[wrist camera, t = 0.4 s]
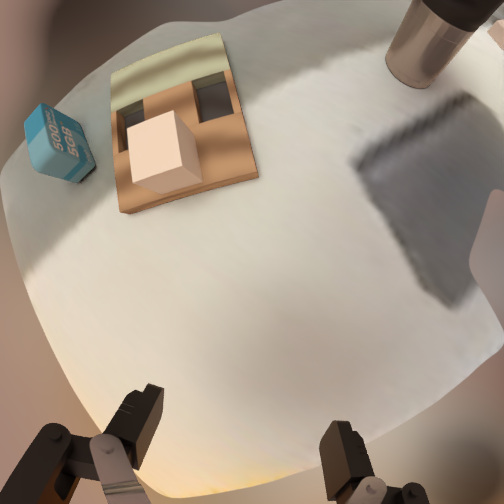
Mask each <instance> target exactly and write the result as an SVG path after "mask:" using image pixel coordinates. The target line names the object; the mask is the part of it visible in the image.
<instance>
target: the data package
mask: <svg viewBox="0 0 504 504" xmlns="http://www.w3.org/2000/svg"><path fill="white" fill-rule="evenodd" d="M24 129H25V135H26V140H27V146H28V151H29V156H30V160H31V164H32V166H33V168H34V169H35V170H36V171H37V172H39V173H42V174H46V175H49V176H53V177H56V178H60V179H64V180H67V181H71V182H74V183H78V182H79V181H80V180H81V179H82V178H83V177H84V176H85V175H86V174H87V173H88V172H89V171H91V170H92V169H93V168H94V167H95V162H94V159H93V157H92V154H91V152H90V149H89V147H88V144H87V141H86V139H85V136H84V134H83V131H82V128H81V126H80V125H79V123H78V122H77V121H75V120H73V119H72V118H70V117H68V116H66V115H64V114H63V113H61V112H59V111H57V110H55V109H54V108H52V107H50V106H48V105H46V104H44V103H41V104H40V105H39V106H38V107H37V108H36V109H35V110H34V112H33V113H32V114H31V115H30V116H29V117H28V118H27V120H26V121H25V122H24Z"/></svg>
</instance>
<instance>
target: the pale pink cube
mask: <svg viewBox="0 0 504 504" xmlns="http://www.w3.org/2000/svg"><path fill="white" fill-rule="evenodd" d="M487 33H488V34H489V35H490V36H491V37H492V38H493V39H494V41H495V42H496V43H497V44H498V45H499V47H500V48H501V49H502V50H504V20H498V21H496V22H495V23H494V24H493V25H492V27H491V28H490V29H489V30H488V31H487Z"/></svg>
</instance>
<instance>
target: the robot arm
mask: <svg viewBox="0 0 504 504" xmlns="http://www.w3.org/2000/svg"><path fill="white" fill-rule="evenodd" d="M503 2H504V0H412V2H411V5H410V7H409V9H408V11H407V13H406V15H405V17H404V19H403V21H402V23H401V25H400V27H399V29H398V31H397V34H396V36H395V38H394V40H393V41H392V43H391V45H390V47H389V49H388V51H387V54H386V64H387V66H388V68H389V69H390V71H391V72H392V73H393V75H394V76H395V77H397V78H398V79H399V80H400V81H402V82H403V83H405V84H407V85H409V86H411V87H414V88H426V87H428V86H429V85H430V84H431V83H432V82H433V81H434V80H435V78H436V77H437V76H438V75H439V74H440V73H441V72H442V70H443V69H444V68H445V67H446V66H447V65H448V63H449V62H450V61H451V60H452V59H453V58H454V56H455V55H456V54H457V53H458V52H459V50H460V49H461V48H462V47H463V46H464V44H465V43H466V42H467V41H468V39H469V38H470V37H471V36H472V35H473V33H474V32H475V31H476V30H477V29H478V28H479V26H481V25H482V24H483V23H485V22H486V21H487V20H488V18H489V17H490V16H491V15H492V14H493V13H494V12H495V11H496V10H497V8H498V7H499V6H500V5H501V4H502V3H503ZM163 399H164V388H162V387H158V386H155V385H152V384H149V383H148V384H147V386H146V388H145V389H144V391H143V392H140V391H137V390H134V391H132V392H131V393H129V394H128V395H127V396H126V397H125V399H124V400H123V402H122V404H121V405H120V407H119V409H118V410H117V412H116V413H115V415H114V416H113V418H112V420H111V421H110V423H109V424H108V426H107V428H106V429H105V431H104V432H103V433H102V434H99V435H96V436H94V437H91V438H88V437H82V436H77V435H72V434H70V432H69V431H68V429H67V428H66V427H64V426H63V425H61V424H57V423H49V424H46V425H45V426H44V427H43V428H42V429H41V430H40V432H39V433H38V435H37V436H36V437H35V439H34V440H33V442H32V443H31V445H30V446H29V448H28V449H27V451H26V452H25V454H24V455H23V457H22V458H21V460H20V461H19V463H18V465H17V466H16V468H15V469H14V471H13V472H12V474H11V475H10V477H9V479H8V481H7V482H6V484H5V486H4V487H3V489H2V491H1V492H0V504H69V502H70V500H71V498H72V496H73V493H74V491H75V489H76V487H77V485H78V482H79V480H80V478H85V479H90V480H96V481H100V482H101V485H102V488H103V491H104V494H105V496H106V499H107V501H108V504H151V502H150V501H149V499H148V497H147V495H146V493H145V491H144V489H143V487H142V486H141V484H139V482H138V480H137V478H136V476H135V474H134V471H133V469H136V470H138V471H139V469H140V466H141V464H142V462H143V459H144V457H145V455H146V452H147V450H148V448H149V445H150V443H151V441H152V438H153V436H154V434H155V431H156V429H157V427H158V424H159V422H160V419H161V416H162V412H163ZM319 451H320V456H321V462H322V467H323V474H324V480H325V487H326V493H327V499H328V501H336V502H337V504H429V500H428V498H427V495H426V492H425V489H424V488H423V487H422V486H421V485H420V484H418V483H413V482H411V483H408V484H406V485H405V486H404V487H403V488H397V487H389V486H386V484H385V482H384V481H383V480H382V479H380V478H378V477H375V475H374V472H373V469H372V466H371V462H370V459H369V456H368V454H367V450H366V448H365V444H364V441H363V438H362V437H361V436H360V435H359V434H358V432H357V431H352V428H351V425H350V422H349V421H336V420H334V421H332V423H331V424H330V426H329V428H328V429H327V431H326V433H325V434H324V436H323V437H322V439H321V441H320V446H319ZM132 468H133V469H132Z"/></svg>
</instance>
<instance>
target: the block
mask: <svg viewBox="0 0 504 504" xmlns="http://www.w3.org/2000/svg"><path fill="white" fill-rule="evenodd" d="M127 135H128V146H129V156H130V165H131V174H132V182H133V183H134V184H137V185H139V186H142V187H144V188H147V189H149V190H151V191H154V192H156V193H159V194H161V195H162V194H165V193H169V192H172V191H175V190H178V189H182V188H185V187H188V186H192V185H195V184H198V183H202V182H203V178H202V173H201V168H200V163H199V158H198V153H197V148H196V142H195V137H194V134H193V133H192V132H191V131H190V129H189V128H188V127H187V126H186V125H185V123H184V122H183V121H182V120H181V119H180V118H179V116H178V115H177V114H176V113H175V112H174V110H172V111H170V112H167V113H164V114H162V115H159V116H156V117H154V118H151V119H149V120H146V121H144V122H141V123H139V124H136V125H134V126H132V127H129V128H127Z"/></svg>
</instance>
